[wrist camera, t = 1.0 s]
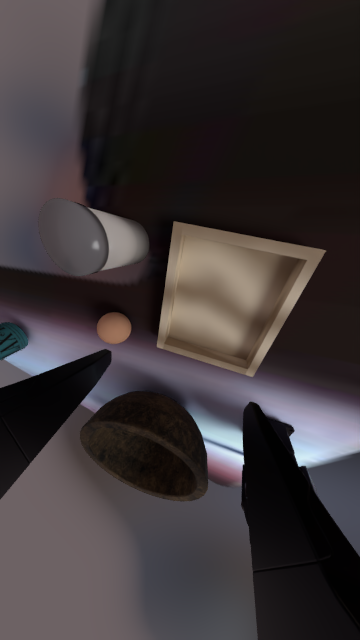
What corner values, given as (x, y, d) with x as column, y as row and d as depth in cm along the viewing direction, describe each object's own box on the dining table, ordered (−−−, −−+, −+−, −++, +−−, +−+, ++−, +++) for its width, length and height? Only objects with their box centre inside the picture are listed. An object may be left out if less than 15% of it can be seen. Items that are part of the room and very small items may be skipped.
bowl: (177, 355, 26) (154, 412, 17) (230, 436, 32) (232, 509, 23) (98, 381, 35) (56, 427, 26) (150, 441, 41) (130, 494, 32)
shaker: (148, 267, 21) (100, 282, 13) (113, 259, 21) (47, 268, 13) (151, 222, 18) (95, 204, 10) (112, 215, 19) (30, 192, 11)
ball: (136, 337, 26) (119, 354, 22) (111, 329, 27) (90, 344, 23) (137, 312, 24) (119, 326, 20) (110, 304, 25) (87, 316, 20)
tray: (249, 364, 23) (252, 376, 21) (162, 338, 25) (156, 346, 23) (311, 249, 16) (326, 250, 13) (179, 224, 17) (173, 221, 15)
